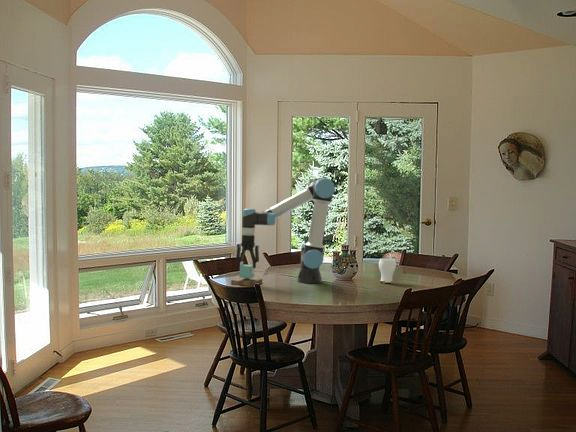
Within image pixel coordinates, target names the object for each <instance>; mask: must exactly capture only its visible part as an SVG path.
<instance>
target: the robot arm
mask: <svg viewBox="0 0 576 432" xmlns="http://www.w3.org/2000/svg"><path fill="white" fill-rule="evenodd" d="M335 190H336V188H335V184H334V182H333V181H332V180H331V179H329V178H328V177H319V178H317V179H316V180H315V181H313V182H311V183H310V184H309V185H307V186H306V187H305V189H303V190H301V191H298V192H297V193H296V194H294V195H292V196H290V197H288V198H285V199H284V200H282V201H281V202H279V203H277V204H275V205H273V206H271V207H269V208H267V209H266V210H263V211H261V212H257V211H256V209H255V208H243V210H242V226H241V234H242V235H241V243H237V244H236V257H235V261H237V262H238V268H240V265H244V261H243V260H244V257H245V254H246V252H247V251H248V252H249V253H250V257H251V261H252V262H251V264H250V265H251V274H254V275H255V269H256V268H257V267H256V266H257V263H259V262H260V256H259V255H260V253H259V250H260V245H257V244H256V242H255V240H256V239H255V234H256V233H255V232H256V226H275V225H276V219H278V218H280V217H282V216H284V215H286V214H287V213H289V212H291V211H293V210H295V209H297V208H298V207H300V206H302V205H304V204H306V203H308V202H310V201H313V207H312V208H313V209H312V214H311V221H310V228H309V232H308V233H309V234H308V241H307V242H305V244H302V245H301V246H300V247H301V248H300V250H301V251H300V268H299V272H298V275H297V278H296V279H297V282H299V283H304V284H319V283H322V281H323V280H322V279H323V278H322V275H321V271H320V267H321V265H322V264H323V263H324V252H325V246H324V245H323V242H324V241H323V240H324V234H325V229H326V222H327V216H328V210H329V205H330V204H331V203H332V201H333V196H334V193H335Z"/></svg>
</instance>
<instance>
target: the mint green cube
mask: <svg viewBox="0 0 576 432" xmlns="http://www.w3.org/2000/svg"><path fill="white" fill-rule="evenodd" d="M239 277H241V278H255V273H254V274H251V264H244V263H243V265H240V267H239Z"/></svg>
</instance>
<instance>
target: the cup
mask: <svg viewBox="0 0 576 432" xmlns="http://www.w3.org/2000/svg"><path fill="white" fill-rule="evenodd" d="M396 262H397V261H396V259H394V258H387V257H386V258H380V259H379V261H378V268H379V269H378V270H379V272H380V275H381V277H380V281H385V282H391V281H393V275H394V272H395V271H396V267H397V263H396Z"/></svg>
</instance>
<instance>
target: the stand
mask: <svg viewBox="0 0 576 432" xmlns="http://www.w3.org/2000/svg"><path fill="white" fill-rule="evenodd" d="M254 283H259V284H258V285H261V284H263V278H257V277H253V278H241V277H240V276H239V277H237V278H233V279H231V281H230V285H233V286H234V285H236V286H243V285H244V286H245V287H255V286H254ZM244 286H243V287H244Z"/></svg>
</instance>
